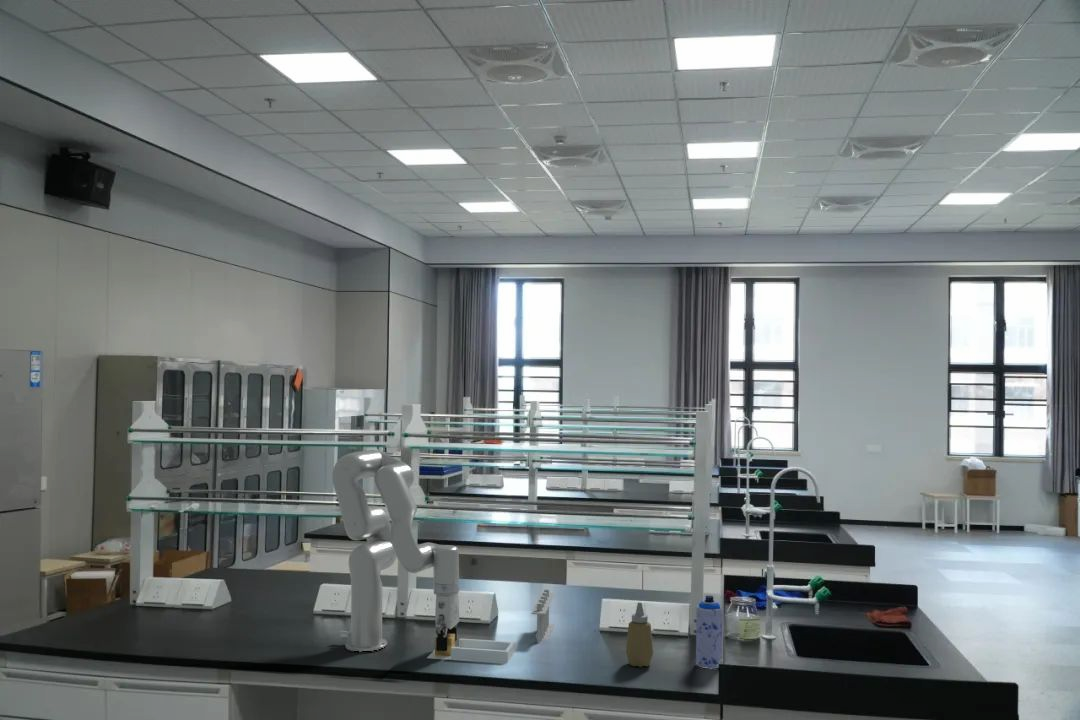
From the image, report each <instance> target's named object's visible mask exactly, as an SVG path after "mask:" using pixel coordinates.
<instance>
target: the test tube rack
mask: <svg viewBox="0 0 1080 720" xmlns="http://www.w3.org/2000/svg"><path fill="white" fill-rule="evenodd" d="M554 596H555V593H550V589H549V588H544V589H543V592H541V594H540V596H539V598H538V599H537V601H536V602H535V606H534V607H533V609H532V611H531V613H530V614H531V615H536V634H535V636H534V639H536V643H537V644H540V643H541V642H542V641H543V639H545V640H550V638H551V635H552V633H553V630H554V628H555V624H554V623H550V604H551V603H552V601H553V598H554ZM553 627H554V628H553ZM552 629H553V630H552ZM551 632H552V633H551ZM550 634H551V635H550ZM549 637H550V638H549Z"/></svg>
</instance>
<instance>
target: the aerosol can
mask: <svg viewBox="0 0 1080 720" xmlns="http://www.w3.org/2000/svg"><path fill="white" fill-rule="evenodd" d="M695 619H696V620H695V621H696V622H695V624H696V625H695V628H696V630H695V631H696V633H695V634H696V639H695V640H696V641H695V645H696V646H695V657H696V658H695V662H696V664H697V665H698V666H701V667H708V668H716V667H717V664H718V662H719V661H720V659H721V658H722V659H723V607H722V606H721V605H720V603H719V602H717V601H716V600H714V596H713V595H705V599H703V600H702V601H700V602H699V603H698V604H697V606H696V618H695ZM696 664H695V665H696Z"/></svg>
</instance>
